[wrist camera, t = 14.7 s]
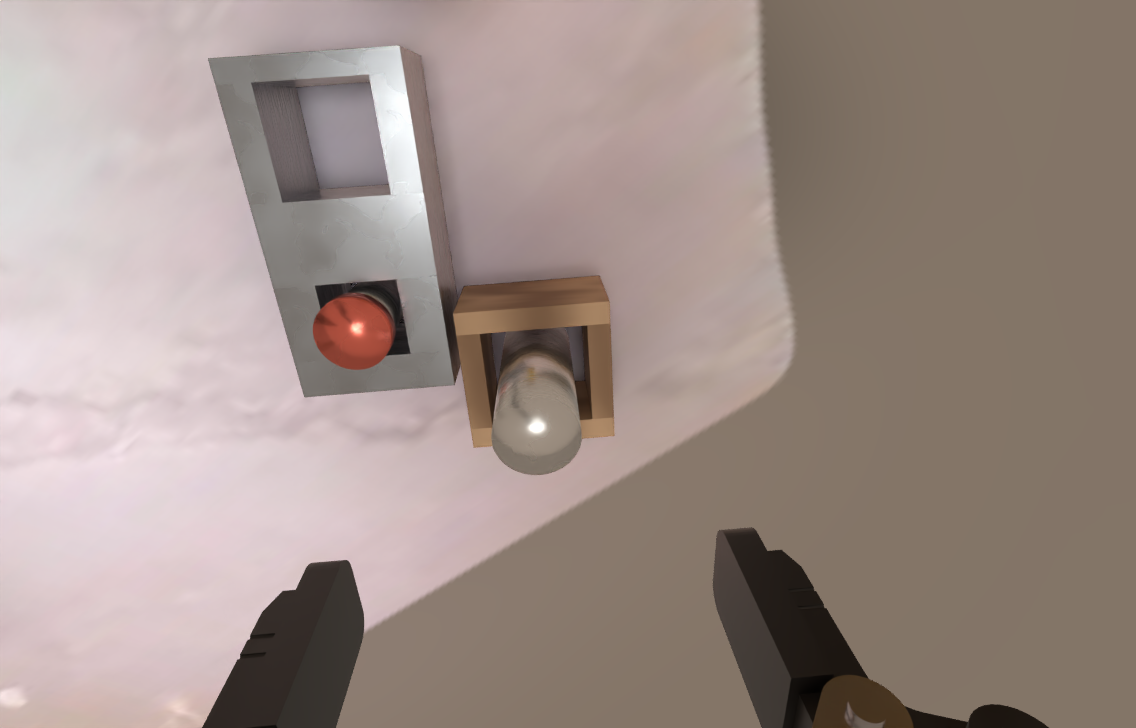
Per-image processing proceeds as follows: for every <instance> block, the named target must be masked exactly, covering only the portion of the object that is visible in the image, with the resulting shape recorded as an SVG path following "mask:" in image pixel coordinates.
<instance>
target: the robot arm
mask: <svg viewBox="0 0 1136 728" xmlns="http://www.w3.org/2000/svg"><path fill="white" fill-rule="evenodd" d="M713 576H714V577H713V591H714V598H715V603H716V607H717V611H718V614H719V616H720V619H721V621H722V624H723V627H724V629H725V632H726V635H727V637H728V640H729V642H730V645H731V648H732V650H733V653H734V656H735V658H736V661H737V664H738V666H739V669H740V672H741V674H742V677H743V680H744V682H745V685H746V687H747V690H748V693H749V695H750V698H751V701H752V703H753V706H754V708H755V711H756V714H757V716H758V719H759V722H760V724H761V727H762V728H1049V727H1047V726H1046V725H1045V724H1043V723H1042V722H1040V721H1039V720H1037V719H1036V718H1034V717H1032V716H1030V715H1028V714H1027V713H1024V712H1022V711H1020V710H1018V709H1015V708H1012V707H1008V706H1003V705H994V704H990V705H984V706H981V707H978V708H977V709H976V710H974V711H973V713H972V714H971V715H970V718H969V721H968V722H965V721H960V720H956V719H951V718H946V717H942V716H937V715H932V714H928V713H923V712H919V711H916V710H913V709H911V708H908V707H906V706H904V705H903V704H902V702H901V701H900V700H899V699H898V698H897V697H896V696H895V695H894V694H893V693H892V692H891V691H889V690H888V689H887V688H885V687H884V686H882V685H880V684H879V683H877V682H875V681H873V680H870V679H869V678H868V677H867V675H866V674H865V672H864V671H863V669H862V667H861V666H860V664H859V662H858V661H857V659H856V658H855V656H854V654H853V652H852V651H851V649H850V647H849V646H848V644H847V642H846V641H845V639H844V637H843V636H842V634H841V633H840V631H839V629H838V628H837V625H836V624H835V622H834V620H833V619H832V617H831V615H830V614H829V612H828V610H827V609H826V608H824V604H823V602H822V600H821V599H820V597H819V595H818V594H817V592H816V591H814V587H813V585H812V584H811V582H810V580H809V579H808V577H807V575H806V574H805V572H804V570H803V569H802V567H801V566H800V565H799V564H797V563H796V562H795V561H794V560H792V558H790V557H789V556H788V555H787V554H786V553H785V552H783V551H782V550H775V551H767V550H766V548H765V546H764V544H763V542H762V540H761V538H760V537H759V535H758V533H757V531H756V530H755V529H754V528H752V527H751V528H740V529H728V530H719V531H718V533H717V538H716V550H715V564H714V575H713ZM363 633H364V613H363V608H362V605H361V601H360V597H359V593H358V590H357V586H356V582H355V579H354V575H353V571H352V568H351V565H350V563H349V561H347V560H341V561H329V562H317V563H310V564H309V565H308V566H307V568H306V570H305V572H304V574H303V576H302V578H301V580H300V582H299V584H298V586H297V588H296V590H289V591H282V592H281V593H280V594H279V596H278V597H277V598H276V599H275V600H274V601H273V602H272V603H271V604H270V605H269V606H268V607H267V608H266V609H265V610H264V611H263V612H262V614H261V615H260V617H259V619H258V621H257V623H256V625H255V627H254V629H253V631H252V633H251V635H250V640H248V641H247V642H246V644H245V646H244V648H243V650H242V652H241V654H240V659H239V660H237V662H236V664H235V666H234V667H233V669H232V671H231V673H230V675H229V677H228V679H227V681H226V683H225V685H224V687H223V689H222V691H221V692H220V694H219V696H218V698H217V700H216V702H215V704H214V706H213V708H212V710H211V712H210V714H209V716H208V717H207V719H206V721H205V723H204V725H203V727H202V728H336V725H337V722H338V719H339V716H340V712H341V709H342V705H343V702H344V699H345V696H346V693H347V689H348V686H349V683H350V679H351V676H352V673H353V669H354V666H355V663H356V659H357V656H358V653H359V650H360V646H361V643H362V639H363Z"/></svg>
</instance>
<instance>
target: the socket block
mask: <svg viewBox="0 0 1136 728" xmlns="http://www.w3.org/2000/svg"><path fill="white" fill-rule="evenodd" d="M208 61H209V64H210V68H211V71H212V75H213V78H214V82H215V85H216V89H217V92H218V96H219V99H220V103H221V106H222V110H223V113H224V117H225V120H226V124H227V127H228V131H229V134H230V138H231V141H232V145H233V148H234V152H235V155H236V159H237V162H238V166H239V169H240V173H241V176H242V180H243V183H244V187H245V191H246V194H247V198H248V201H249V205H250V208H251V212H252V215H253V219H254V222H255V226H256V229H257V233H258V236H259V240H260V243H261V247H262V250H263V254H264V257H265V261H266V264H267V268H268V271H269V275H270V278H271V282H272V285H273V289H274V292H275V296H276V299H277V303H278V306H279V310H280V313H281V317H282V320H283V324H284V327H285V331H286V334H287V338H288V341H289V345H290V348H291V352H292V355H293V359H294V362H295V366H296V369H297V373H298V376H299V380H300V383H301V387H302V390H303V394H304V397H314V396H326V395H338V394H351V393H363V392H375V391H387V390H400V389H412V388H424V387H436V386H449V385H455V382H456V378H457V375H458V372H459V368H460V365H461V362H460V356H459V349H458V343H457V337H456V330H455V324H454V317H453V312H454V310H455V307H456V305H457V302H458V300H457V293H456V286H455V280H454V273H453V266H452V260H451V253H450V246H449V240H448V233H447V226H446V220H445V213H444V206H443V200H442V193H441V186H440V180H439V173H438V166H437V160H436V153H435V146H434V140H433V133H432V126H431V120H430V113H429V106H428V100H427V93H426V86H425V80H424V73H423V66H422V60H421V56H420V55H418V54H416V53H414V52H412V51H410V50H408V49H406V48H404V47H401V46H385V47H370V48H355V49H340V50H325V51H311V52H296V53H281V54H266V55H252V56H237V57H222V58H208ZM363 82H370V85H371V90H372V95H373V101H374V106H375V112H376V117H377V122H378V128H379V133H380V139H381V144H382V149H383V155H384V160H385V166H386V171H387V176H388V182H389V184H386V185H372V186H358V187H345V188H331V189H319V184H318V180H317V176H316V172H315V167H314V163H313V159H312V154H311V150H310V146H309V142H308V137H307V133H306V129H305V124H304V120H303V116H302V112H301V107H300V103H299V99H298V95H297V90H296V87H305V86H320V85H334V84H349V83H363ZM393 279H396V281H397V286H398V291H399V296H400V301H401V307H402V312H403V317H404V322H405V323H402V324H398V326H397V327H396V334H395V339H394V343H393V345H392V347H391V348H390V350H389V351H388V353H387V355H386V356H385V358H384V359H383V360H382V361H381V362H379V363H378V364H377V365H375V366H373V367H370V368H367V369H362V370H351V369H346V368H343V367H340V366H338V365H336V364H334V363H332V362H331V361H329V360H328V359H327V358H326V357H325V356H324V355H323V354H322V353H321V352H320V350H319V349H318V347H317V345H316V343H315V340H314V337H313V323H314V319H315V317H316V315H317V314H318V312H319V311H320V310H321V308H323V307H324V306H325V305H326V304H327V303H328V302H329V301H330V300H331V299H333V298H334V297H336V296H338V295H341V294H344V293H348V292H349V291H350V290H351V289H352V288H351V284H350V283H354V282H367V281H380V280H393Z"/></svg>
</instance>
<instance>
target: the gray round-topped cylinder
mask: <svg viewBox="0 0 1136 728" xmlns="http://www.w3.org/2000/svg"><path fill="white" fill-rule="evenodd" d="M491 440H492V445H493V448H494V451H495V453H496V454H497V456H498V457H499V459H500V460H501V461H502V462H503V463H504V464H505V465H507V466H508V467H510V468H511V469H513V470H515V471H518V472H521V473H524V474H530V475H542V474H548V473H552V472H555V471H557V470H559V469H561V468H563V467H564V466H566V465H567V464H568V463H569V462H571V460H572V459H573V458H574V457H575V455H576V454H577V452H578V450H579V448H580V445H581V440H582V432H581V425H580V418H579V410H578V403H577V396H576V388H575V381H574V374H573V367H572V359H571V352H570V345H569V337H568V334H567V331H566V329H565V327H559V328H547V329H534V330H522V331H509V332H506V334H505V339H504V346H503V353H502V360H501V367H500V375H499V382H498V389H497V396H496V404H495V411H494V418H493V425H492V433H491Z"/></svg>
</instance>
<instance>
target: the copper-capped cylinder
mask: <svg viewBox="0 0 1136 728" xmlns="http://www.w3.org/2000/svg"><path fill="white" fill-rule="evenodd" d="M402 318H403V312H402V307H401V301H400V296H399V291H398V286H397V281H396V279H393V280H380V281H367V282H358V283H357V284H356V285H355V286H354V287H353V288H352V289H351V290H350V291H349V292H348V293H344V294H341V295H338V296H336V297H334V298H333V299H331V300H330V301H329V302H328V303H327V304H326V305H325V306H324V307H323V308H321V310H320V311H319V312H318V314H317V315H316V317H315V319H314V323H313V337H314V340H315V343H316V345H317V347H318V349H319V350H320V352H321V353H322V354H323V355H324V356H325V357H326V358H327V359H328V360H329V361H331V362H332V363H334V364H336V365H338V366H340V367H343V368H346V369H351V370H362V369H367V368H370V367H373V366H375V365H377V364H378V363H379V362H381V361H382V360H383V359H384V358H385V356H386V355H387V353H388V351H389V350H390V348H391V347H392V345H393V343H394V339H395V334H396V327H397V326H398V324H399V322H400V321H401V319H402Z"/></svg>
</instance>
